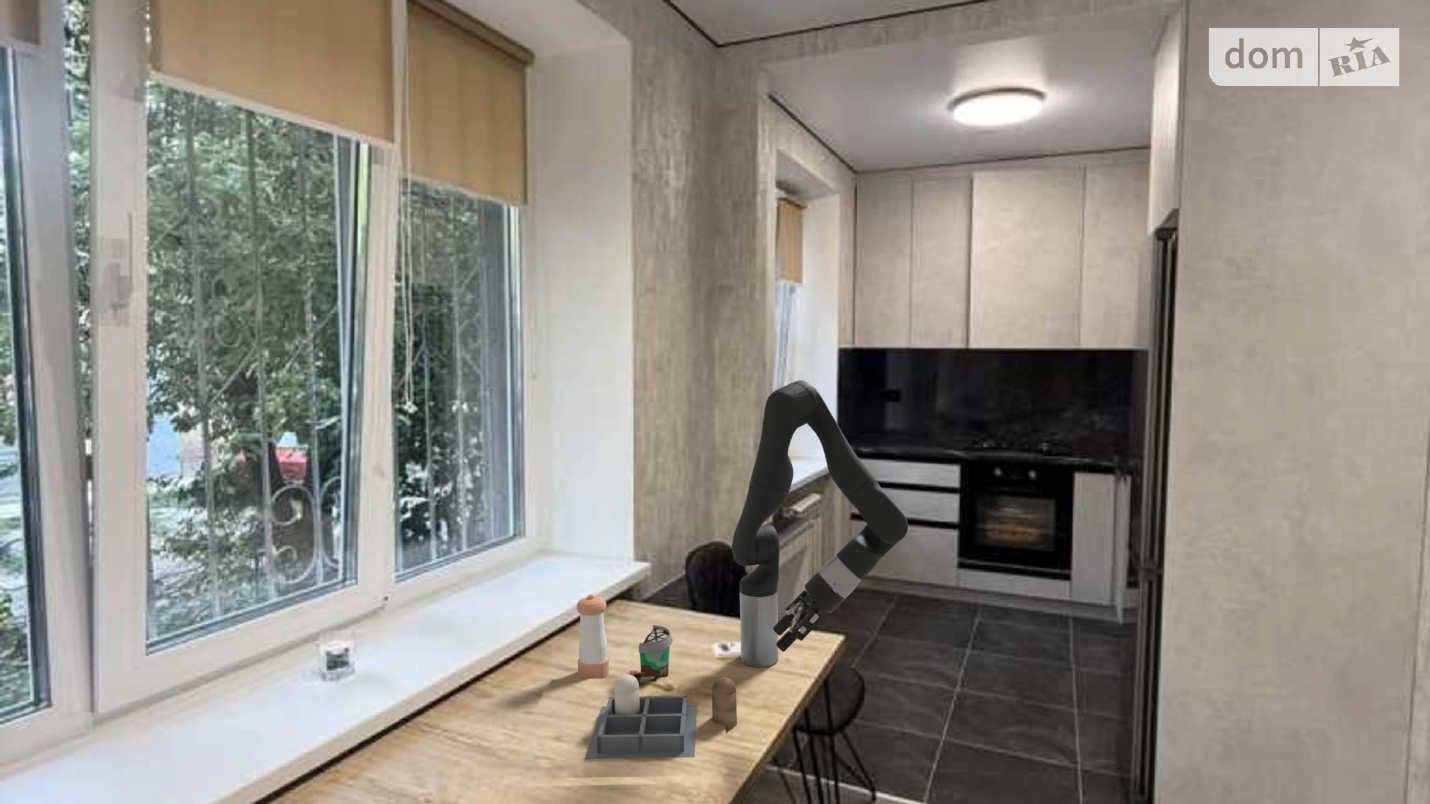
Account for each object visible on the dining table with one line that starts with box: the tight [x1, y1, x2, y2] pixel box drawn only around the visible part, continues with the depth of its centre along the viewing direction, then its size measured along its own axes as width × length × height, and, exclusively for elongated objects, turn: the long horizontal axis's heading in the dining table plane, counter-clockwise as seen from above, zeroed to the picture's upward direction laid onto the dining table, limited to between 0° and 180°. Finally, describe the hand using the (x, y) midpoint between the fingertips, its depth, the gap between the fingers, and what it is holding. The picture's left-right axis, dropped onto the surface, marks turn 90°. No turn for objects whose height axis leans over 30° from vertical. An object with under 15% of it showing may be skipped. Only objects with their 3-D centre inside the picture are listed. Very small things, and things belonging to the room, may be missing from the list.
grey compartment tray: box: [584, 695, 698, 760], centre depth 149 cm, size 20×20×4 cm
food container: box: [638, 624, 673, 681], centre depth 176 cm, size 12×6×10 cm, turn 168°
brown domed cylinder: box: [711, 676, 738, 730], centre depth 153 cm, size 5×5×10 cm
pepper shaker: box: [575, 593, 610, 680], centre depth 178 cm, size 7×7×19 cm
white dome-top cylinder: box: [613, 673, 640, 715], centre depth 153 cm, size 5×5×10 cm
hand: (777, 640), depth 152 cm, fingers open, 8 cm apart
